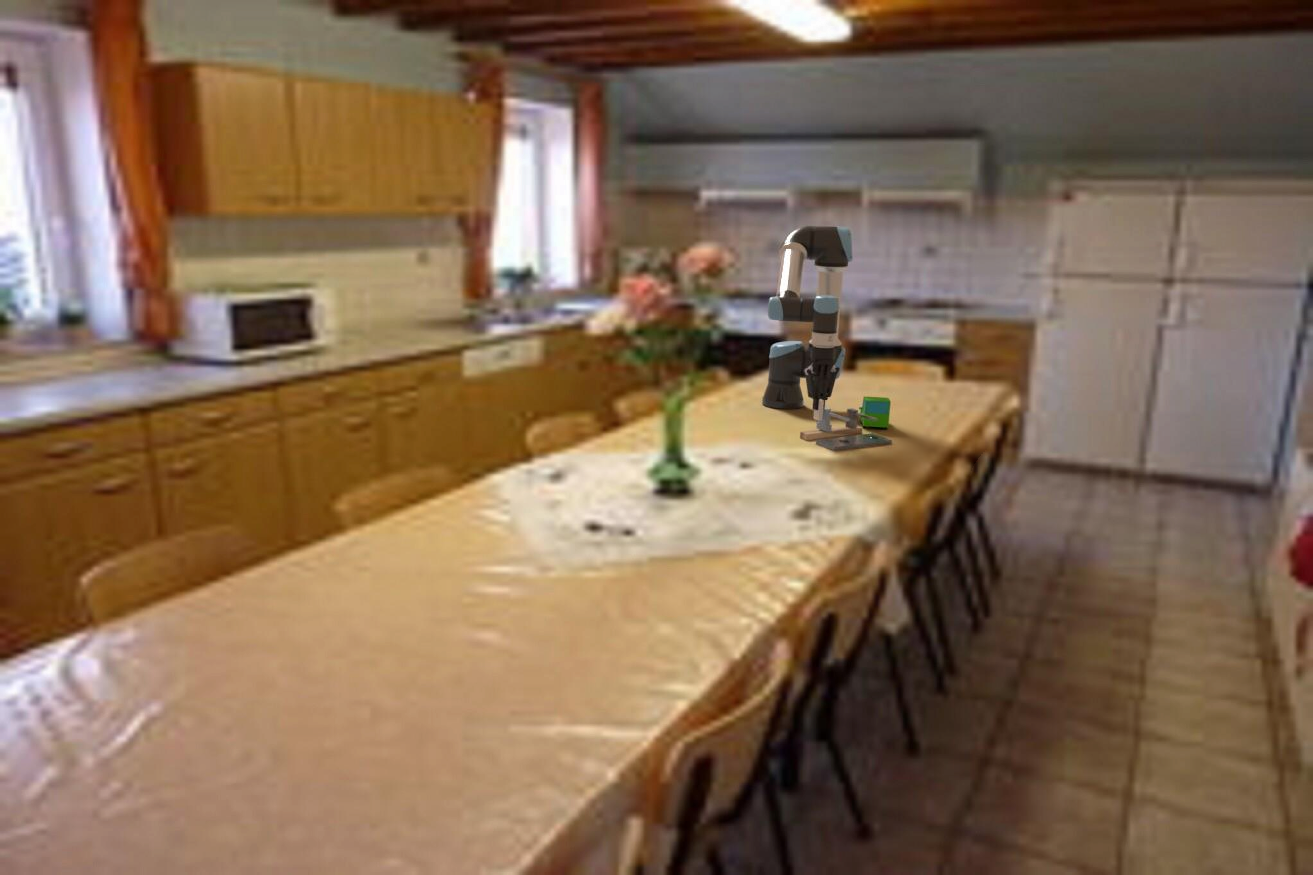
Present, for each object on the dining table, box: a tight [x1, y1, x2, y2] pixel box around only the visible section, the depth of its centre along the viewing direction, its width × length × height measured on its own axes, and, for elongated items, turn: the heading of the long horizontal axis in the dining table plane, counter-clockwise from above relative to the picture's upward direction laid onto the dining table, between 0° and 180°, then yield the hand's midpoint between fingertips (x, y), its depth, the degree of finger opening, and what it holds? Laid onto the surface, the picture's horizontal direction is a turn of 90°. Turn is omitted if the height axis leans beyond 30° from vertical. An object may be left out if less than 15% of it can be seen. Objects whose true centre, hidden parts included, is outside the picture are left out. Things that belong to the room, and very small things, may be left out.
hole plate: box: [815, 432, 893, 452], centre depth 295 cm, size 9×23×1 cm, turn 119°
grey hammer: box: [816, 406, 850, 432], centre depth 297 cm, size 14×2×7 cm, turn 29°
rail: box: [799, 407, 878, 441], centre depth 299 cm, size 13×23×8 cm, turn 119°
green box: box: [858, 396, 892, 430], centre depth 319 cm, size 10×13×10 cm
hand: (817, 419), depth 300 cm, fingers closed
